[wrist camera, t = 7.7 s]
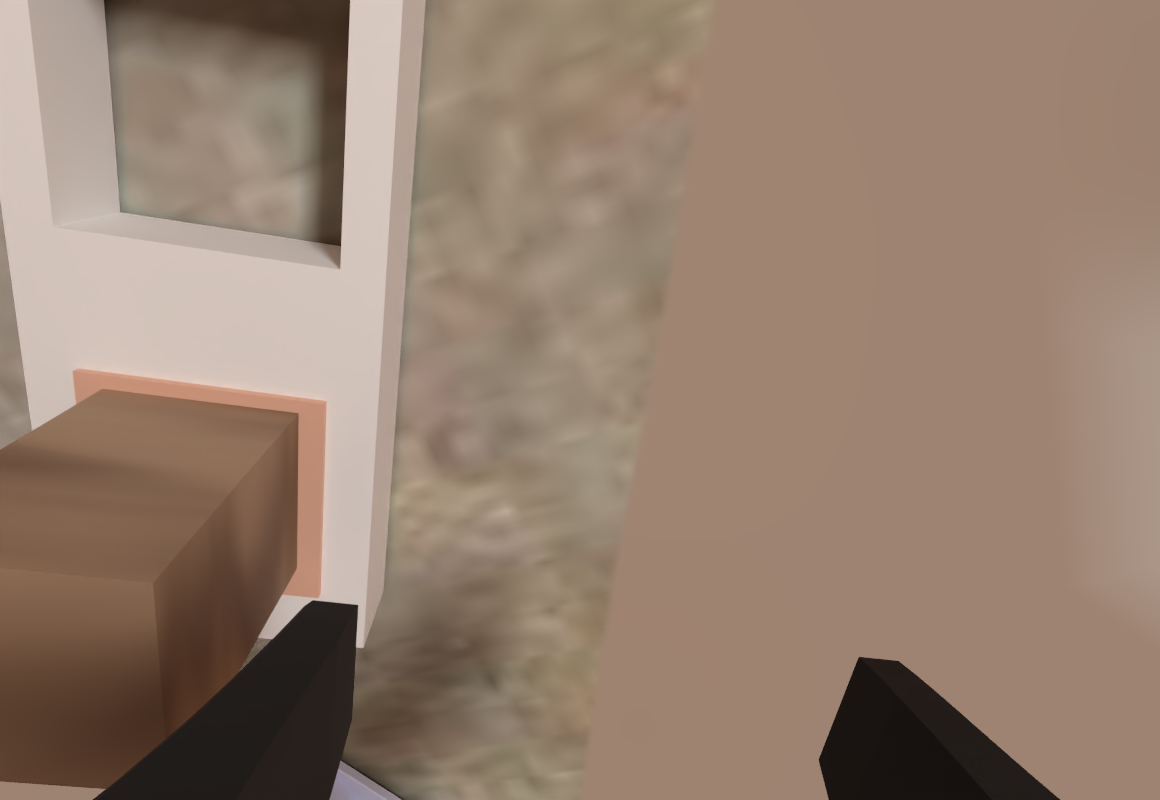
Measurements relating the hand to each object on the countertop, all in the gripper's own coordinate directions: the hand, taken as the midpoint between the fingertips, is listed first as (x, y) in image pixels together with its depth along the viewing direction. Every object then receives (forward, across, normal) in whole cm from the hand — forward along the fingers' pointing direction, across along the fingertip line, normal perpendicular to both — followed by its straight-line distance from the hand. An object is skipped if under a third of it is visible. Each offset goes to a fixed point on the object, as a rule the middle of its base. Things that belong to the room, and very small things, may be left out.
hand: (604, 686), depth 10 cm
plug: (+8, +9, +2) cm, 12 cm away
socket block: (+10, +9, -2) cm, 14 cm away
